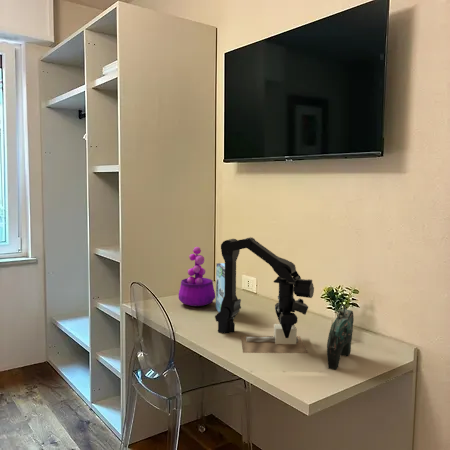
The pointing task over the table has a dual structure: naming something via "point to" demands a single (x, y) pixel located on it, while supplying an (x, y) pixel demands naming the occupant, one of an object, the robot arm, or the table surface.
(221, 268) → the gum box
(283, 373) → the table surface
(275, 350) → the cleat board
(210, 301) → the decorative plant
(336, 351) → the dark green upright piece
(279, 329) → the notched block
